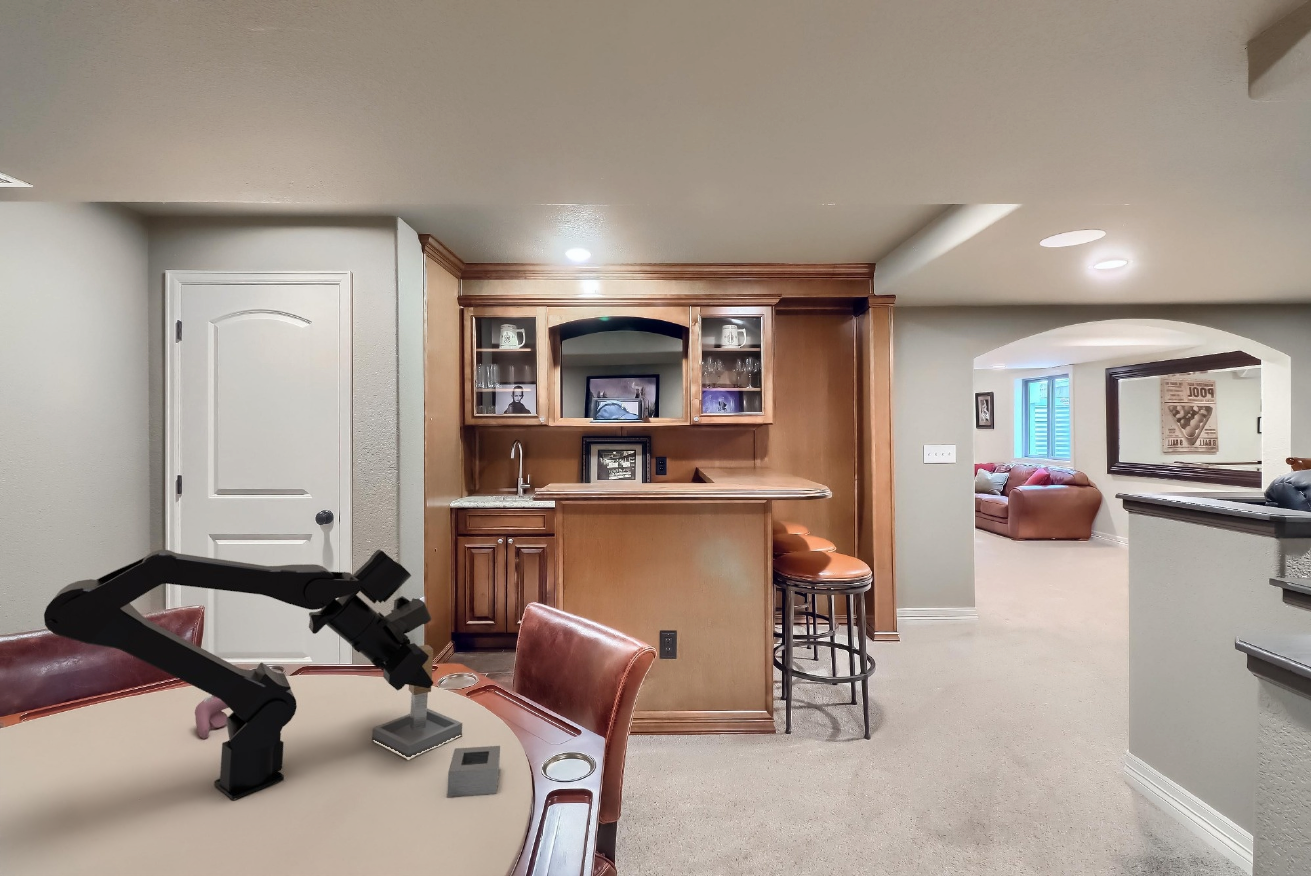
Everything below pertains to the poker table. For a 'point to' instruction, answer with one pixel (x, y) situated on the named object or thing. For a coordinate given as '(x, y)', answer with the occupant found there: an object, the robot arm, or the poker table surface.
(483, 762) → the block
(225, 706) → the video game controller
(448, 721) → the tool tray
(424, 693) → the wooden handled tool
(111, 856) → the poker table surface
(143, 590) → the robot arm
